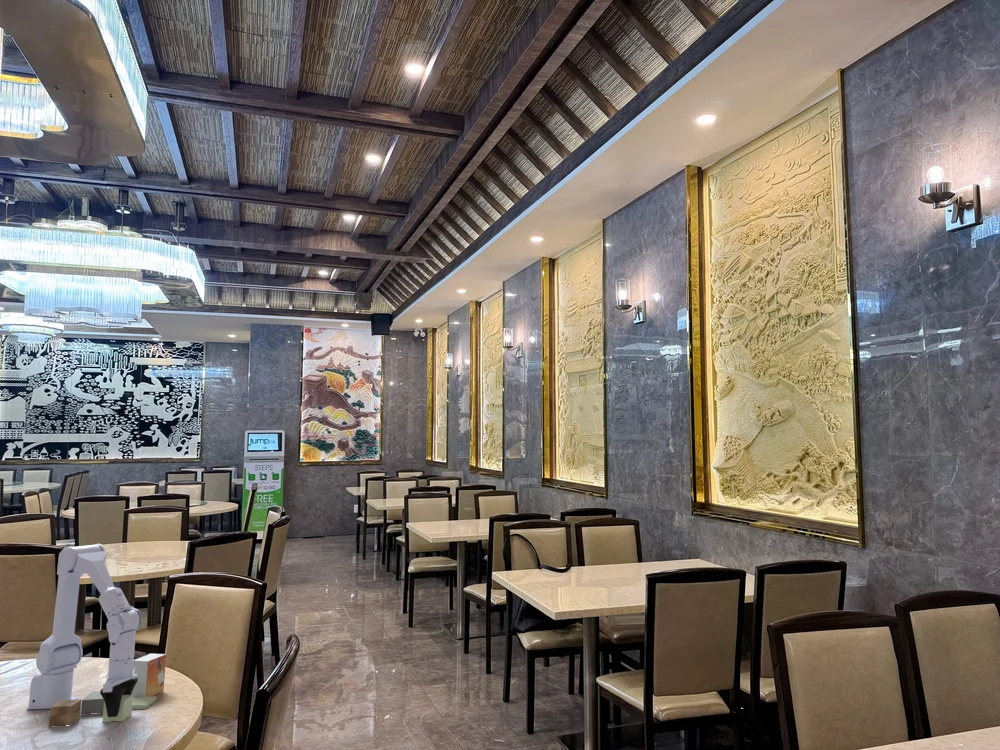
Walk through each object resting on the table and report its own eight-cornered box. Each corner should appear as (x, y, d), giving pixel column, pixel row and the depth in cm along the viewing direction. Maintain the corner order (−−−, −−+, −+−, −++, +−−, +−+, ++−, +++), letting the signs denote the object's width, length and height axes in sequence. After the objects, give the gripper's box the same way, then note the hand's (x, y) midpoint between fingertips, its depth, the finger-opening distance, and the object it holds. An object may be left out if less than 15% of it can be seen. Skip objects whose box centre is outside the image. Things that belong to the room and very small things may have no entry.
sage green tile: (118, 709, 179) (118, 705, 179) (130, 700, 186) (130, 697, 186) (145, 708, 180) (145, 704, 180) (156, 700, 187) (156, 696, 187)
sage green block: (102, 722, 170) (104, 701, 171) (111, 715, 175) (113, 695, 176) (122, 721, 171) (124, 701, 171) (131, 714, 176) (132, 694, 176)
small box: (144, 700, 186) (147, 661, 188) (127, 699, 187) (130, 660, 189) (164, 691, 194) (166, 653, 196) (147, 690, 195) (150, 652, 197)
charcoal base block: (80, 715, 175) (81, 699, 176) (92, 706, 182) (93, 691, 183) (108, 714, 177) (110, 698, 177) (119, 705, 183) (120, 690, 184)
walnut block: (48, 727, 167) (50, 706, 168) (59, 720, 172) (61, 700, 173) (69, 726, 167) (71, 706, 168) (79, 719, 172) (81, 699, 173)
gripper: (125, 665, 168) (120, 722, 166) (148, 650, 183) (145, 702, 181) (95, 666, 168) (91, 723, 166) (122, 651, 182) (118, 703, 180)
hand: (117, 712), depth 173 cm, fingers closed on sage green block, 5 cm apart
